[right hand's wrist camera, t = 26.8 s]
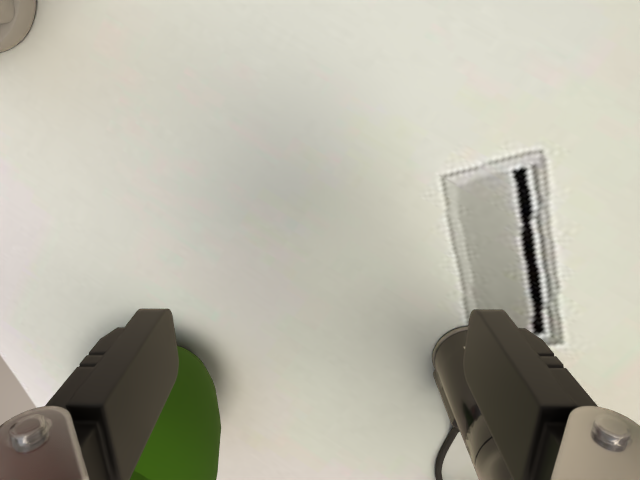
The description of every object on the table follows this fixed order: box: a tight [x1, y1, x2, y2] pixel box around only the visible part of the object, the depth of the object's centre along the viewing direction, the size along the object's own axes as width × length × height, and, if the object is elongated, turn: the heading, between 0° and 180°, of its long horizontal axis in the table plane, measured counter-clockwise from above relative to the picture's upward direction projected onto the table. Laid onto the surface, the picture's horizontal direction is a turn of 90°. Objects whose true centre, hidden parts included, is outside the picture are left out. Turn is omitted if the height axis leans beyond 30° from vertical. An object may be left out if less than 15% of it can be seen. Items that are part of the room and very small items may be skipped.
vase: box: [130, 346, 221, 480], centre depth 48 cm, size 20×20×24 cm
